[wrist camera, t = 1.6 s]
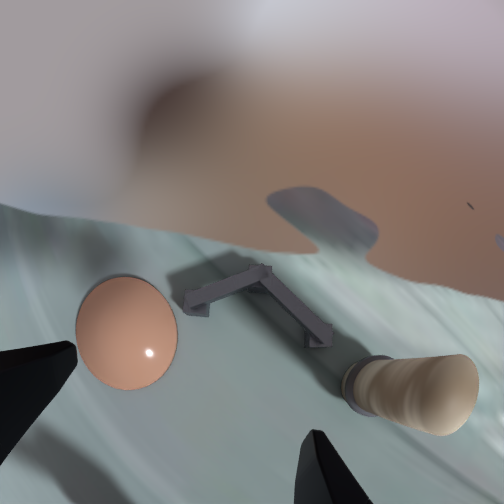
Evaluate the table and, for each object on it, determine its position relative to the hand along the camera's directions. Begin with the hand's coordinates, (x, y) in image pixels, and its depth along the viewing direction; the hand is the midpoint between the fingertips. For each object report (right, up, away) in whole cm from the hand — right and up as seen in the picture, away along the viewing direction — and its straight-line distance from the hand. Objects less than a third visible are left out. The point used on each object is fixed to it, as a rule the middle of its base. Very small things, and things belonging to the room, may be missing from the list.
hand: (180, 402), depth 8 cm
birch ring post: (+13, -8, +14) cm, 21 cm away
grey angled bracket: (+3, 0, +17) cm, 17 cm away
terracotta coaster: (-10, -3, +15) cm, 18 cm away
